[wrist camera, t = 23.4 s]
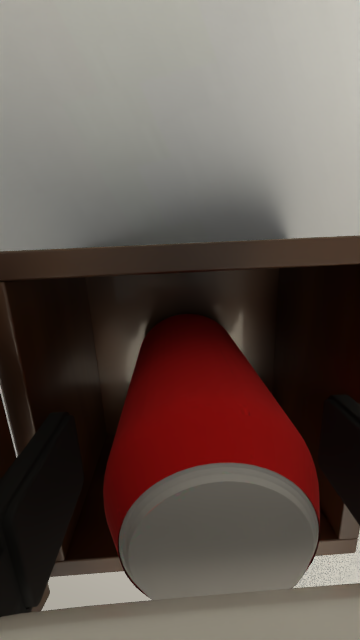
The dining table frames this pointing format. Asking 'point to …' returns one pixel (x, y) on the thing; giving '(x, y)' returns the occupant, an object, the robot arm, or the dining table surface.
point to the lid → (3, 456)
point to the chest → (147, 311)
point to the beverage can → (207, 472)
